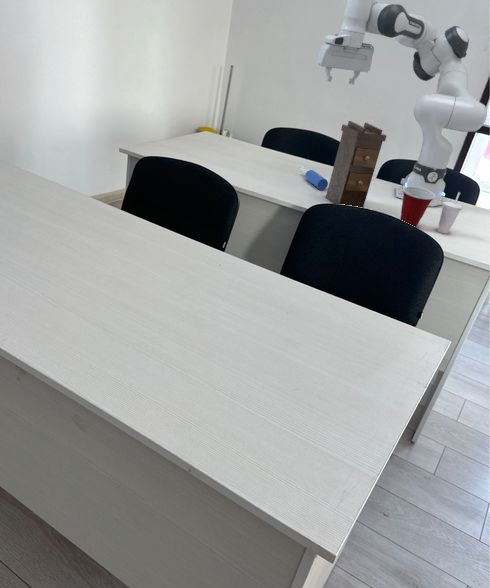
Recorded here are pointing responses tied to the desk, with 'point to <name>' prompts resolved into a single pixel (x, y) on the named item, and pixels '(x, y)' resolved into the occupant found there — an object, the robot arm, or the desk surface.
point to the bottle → (314, 178)
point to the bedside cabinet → (355, 164)
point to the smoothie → (448, 215)
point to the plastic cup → (415, 204)
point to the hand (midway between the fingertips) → (339, 82)
